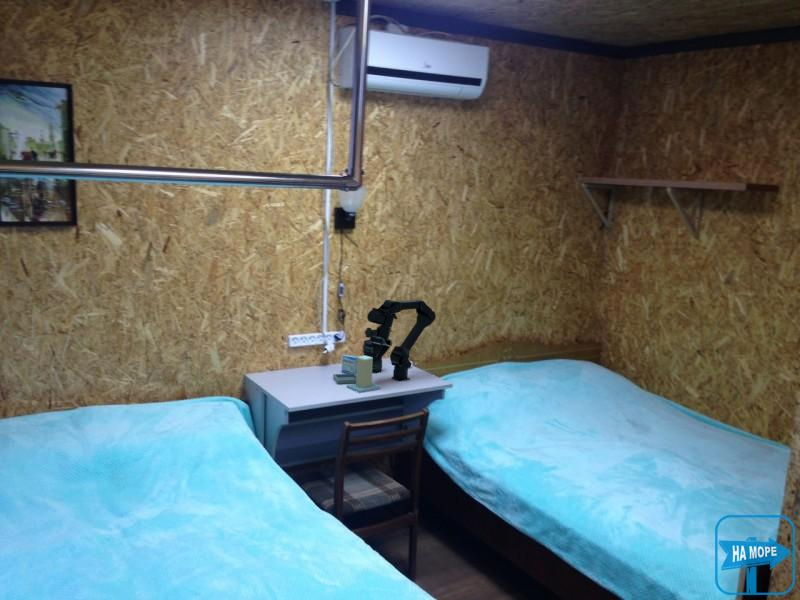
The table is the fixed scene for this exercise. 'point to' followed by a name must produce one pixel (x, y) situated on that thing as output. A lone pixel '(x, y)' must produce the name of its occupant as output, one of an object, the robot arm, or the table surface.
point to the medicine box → (349, 364)
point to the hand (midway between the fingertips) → (376, 358)
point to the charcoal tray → (345, 378)
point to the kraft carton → (364, 371)
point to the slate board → (359, 389)
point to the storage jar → (369, 352)
